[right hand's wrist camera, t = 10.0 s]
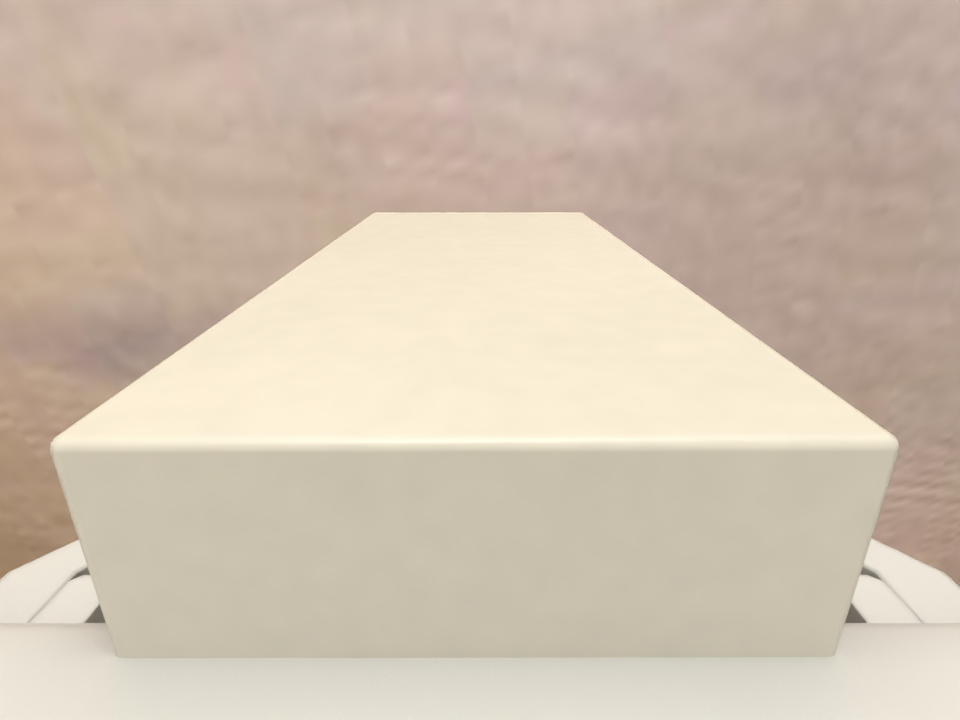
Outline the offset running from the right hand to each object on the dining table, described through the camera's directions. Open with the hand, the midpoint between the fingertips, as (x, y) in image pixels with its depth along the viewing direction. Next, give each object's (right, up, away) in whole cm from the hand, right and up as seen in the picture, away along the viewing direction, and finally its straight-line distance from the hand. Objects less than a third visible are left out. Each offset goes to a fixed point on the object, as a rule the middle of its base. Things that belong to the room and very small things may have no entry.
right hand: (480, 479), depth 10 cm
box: (0, -3, +9) cm, 10 cm away
